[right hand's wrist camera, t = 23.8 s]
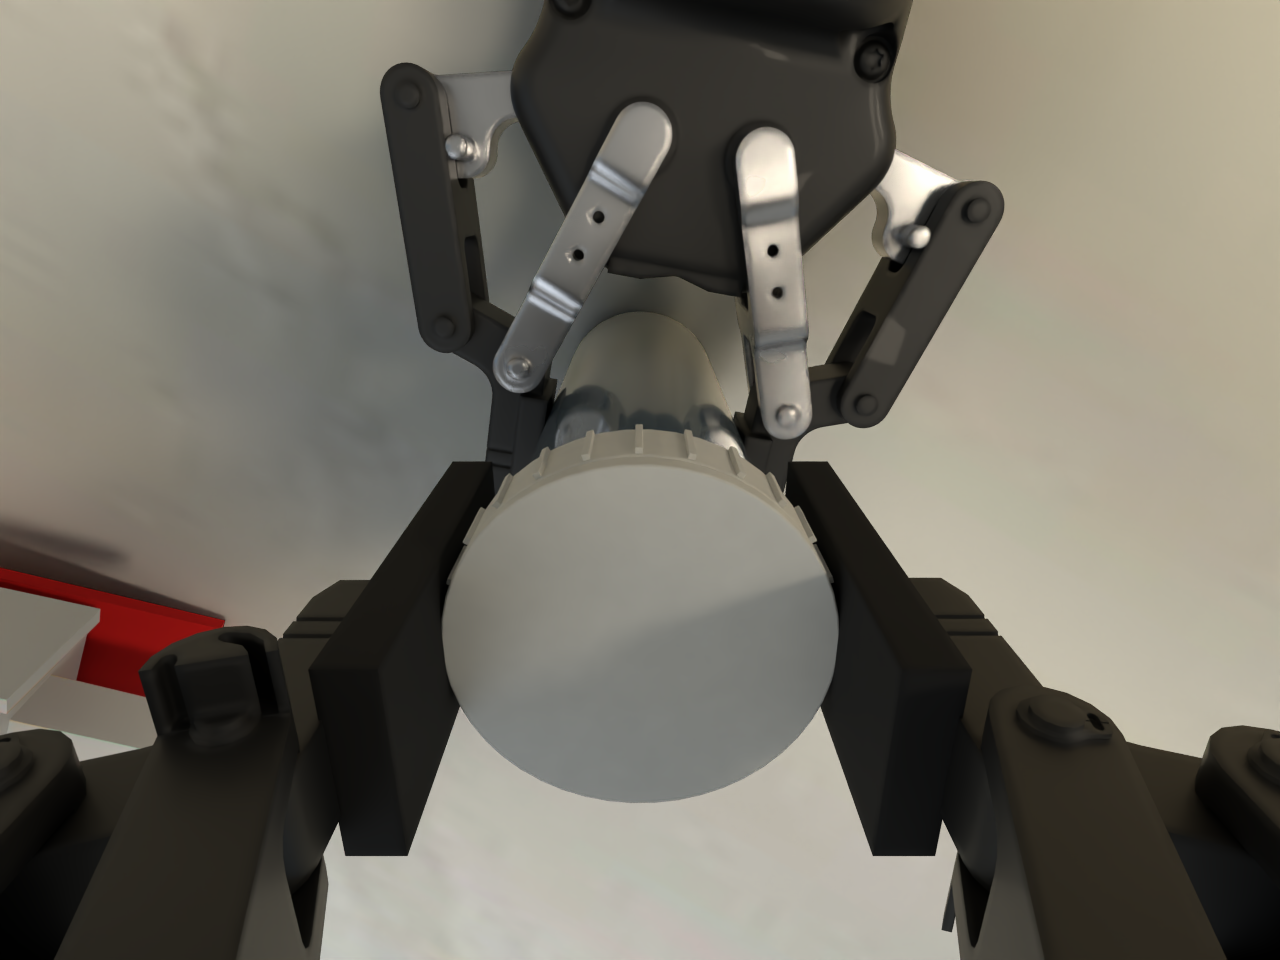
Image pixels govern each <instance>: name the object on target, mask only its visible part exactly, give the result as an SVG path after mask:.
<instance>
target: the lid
mask: <svg viewBox="0 0 1280 960" xmlns="http://www.w3.org/2000/svg"><path fill="white" fill-rule="evenodd" d="M816 541H817V539H816V538H815V536H814V534H813V532H812V530H811V528H810V526H809V524H808V522H807V520H806V518H805V516H804V514H803V512H802V510H801V508H800V507H799V506H796V507H795V508H794V507H793V506H792V504H791V503H790V502H789V500H788V499H787V498H786V497H785V495H784V494H783V493H782V491H781V489H780V487H779V485H778V483H777V481H776V479H775V477H774V475H773V474H772V473H771V472H769V473H768V474H767V475H765V474H764V473H763V472H762V471H760V470H759V469H757V468H756V467H755V466H753V465H752V464H751V463H749V462H748V461H747V460H745V459H744V458H742V457H740V456H739V453H738V451H737V448H735V447H733V446H730V448H729V449H728V450H727V449H725V448H724V447H721V446H719V445H716V444H714V443H711V442H708V441H706V440H703V439H701V438H697V437H693V434H692V431H691V430H687V429H685V431H684V434H681V433H677V432H669V431H660V430H652V429H643V424H636V425H635V430H619V431H612V432H605V433H599V434H595V433H594V430H590V431H587V432H586V437H584V438H580V439H577V440H574V441H572V442H569V443H567V444H564V445H562V446H560V447H557V448H555V449H553V450H551V451H550V449H549V448H548V447H546V448H544V449H542V451H541V454H540V456H539V458H537V459H535V460H534V461H532V462H531V463H530V464H528V465H527V466H526V467H524V468H523V469H522V470H521V471H519V472H518V473H517V474H515V475H514V476H512V475H511V474H510V473H509V474H508V475H507V476H506V477H505V478H504V480H503V482H502V485H501V487H500V489H499V491H498V493H497V494H496V496H495V497H494V498H493V500H492V501H491V503H490V504H489V505H488V507H487V508H486V509H484V508H482V507H481V508H480V509H479V511H478V513H477V515H476V517H475V519H474V521H473V523H472V525H471V527H470V529H469V531H468V532H467V534H466V536H465V538H464V540H463V543H464V544H466V545H467V546H464V547H463V549H462V551H461V553H460V555H459V557H458V559H457V561H456V563H455V565H454V567H453V569H452V571H451V573H450V575H449V577H448V579H447V582H446V584H447V585H449V587H448V590H447V593H446V596H445V601H444V607H443V613H442V618H441V628H442V639H443V648H444V657H445V665H446V672H447V675H448V679H449V682H450V685H451V688H452V690H453V692H454V694H455V696H456V698H457V701H458V703H459V705H460V707H461V708H462V710H463V711H464V713H465V714H466V716H467V718H468V719H469V721H470V722H471V724H472V725H473V726H474V727H475V729H476V730H477V731H478V732H479V733H480V734H481V736H482V737H483V738H484V739H485V740H486V741H487V742H488V743H489V744H490V745H491V746H492V747H493V748H494V749H495V750H496V751H497V752H499V753H500V754H501V755H502V756H503V757H504V758H506V759H507V760H509V761H510V762H511V763H513V764H514V765H516V766H517V767H518V768H520V769H521V770H523V771H525V772H527V773H528V774H530V775H532V776H534V777H536V778H537V779H539V780H541V781H543V782H546V783H548V784H550V785H553V786H555V787H557V788H560V789H562V790H566V791H569V792H572V793H575V794H579V795H582V796H586V797H591V798H596V799H601V800H606V801H616V802H627V803H655V802H664V801H673V800H680V799H685V798H689V797H694V796H699V795H702V794H706V793H709V792H712V791H715V790H718V789H721V788H724V787H726V786H728V785H730V784H733V783H735V782H737V781H739V780H741V779H744V778H745V777H747V776H749V775H750V774H752V773H754V772H756V771H757V770H759V769H761V768H762V767H764V766H765V765H767V764H768V763H769V762H771V761H772V760H773V759H775V758H776V757H777V756H778V755H780V754H781V753H782V752H783V751H784V750H785V749H786V748H787V747H789V746H790V745H791V744H792V743H793V742H794V741H795V740H796V739H797V738H798V737H799V735H800V734H801V733H802V732H803V730H804V729H805V728H806V727H807V725H808V724H809V723H810V722H811V720H812V719H813V717H814V716H815V714H816V712H817V711H818V709H819V707H820V706H821V704H822V702H823V700H824V698H825V696H826V693H827V691H828V688H829V686H830V684H831V681H832V678H833V674H834V668H835V661H836V653H837V644H838V635H839V614H838V609H837V604H836V599H835V595H834V591H833V588H832V586H831V583H834V580H833V577H832V575H831V573H830V571H829V569H828V567H827V565H826V563H825V561H824V559H823V557H822V555H821V553H820V551H819V549H818V547H817V545H816V544H813V543H814V542H816Z"/></svg>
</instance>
